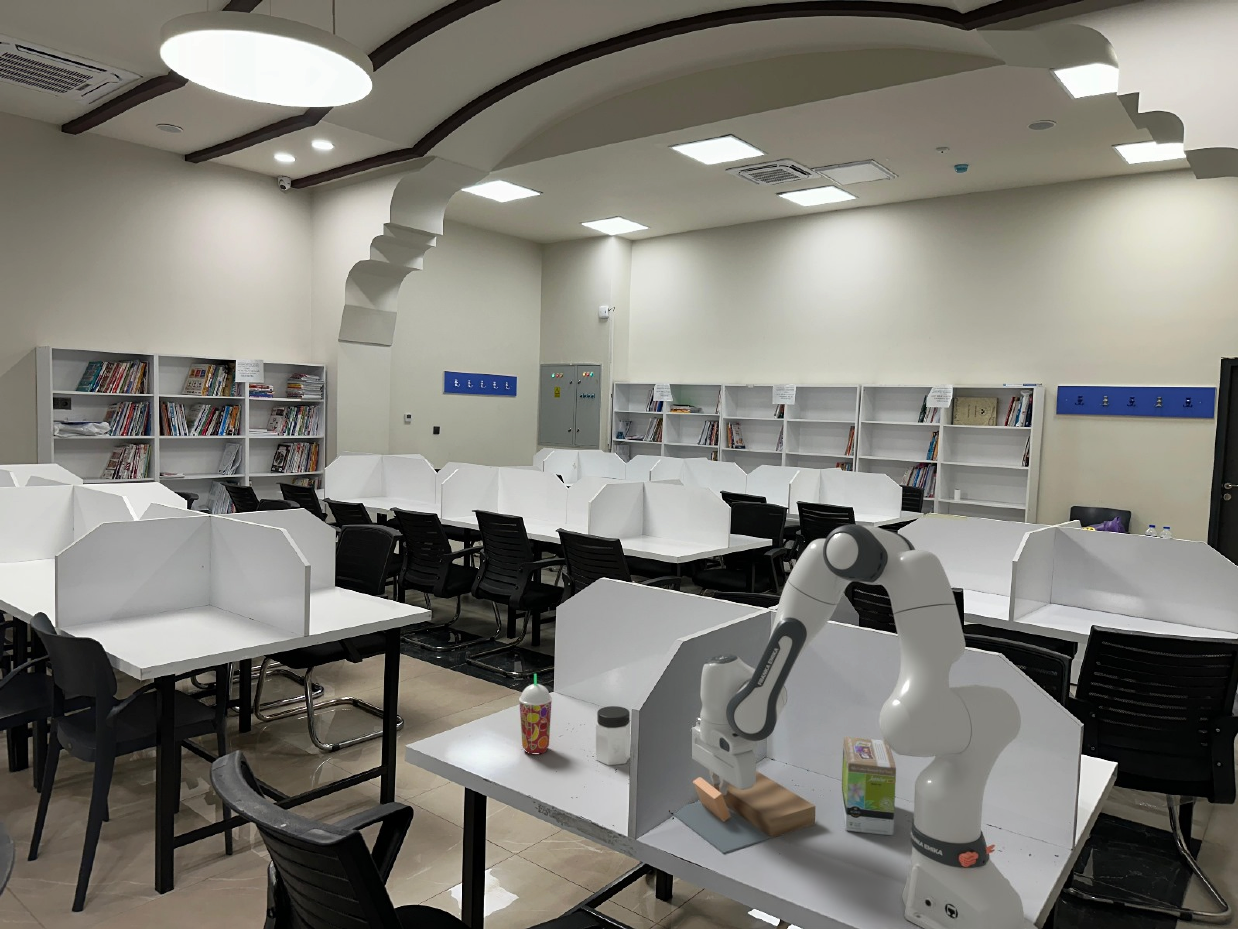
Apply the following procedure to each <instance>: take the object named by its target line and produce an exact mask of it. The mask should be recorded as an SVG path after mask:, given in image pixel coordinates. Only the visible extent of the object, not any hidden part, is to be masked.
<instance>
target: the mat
mask: <svg viewBox="0 0 1238 929" xmlns="http://www.w3.org/2000/svg"><path fill="white" fill-rule="evenodd" d="M685 805H686V806H685ZM685 805H683V806H684V807H683V808H682V809H681V810H679V811H678V812H677V813H674V815H675V816H674V815H673V816H674V817H675V818H677V820H679V821H680V822H682V823H683V824H684V825H685V826H686V827H687V828H690V829H691V830H692V831H694V833H696V834H697V835H699V836H700V837H701V838H702V839H703V840H705V841H706V842H707V843H709V844H710V845H711V846H713V847H714V848H716V850H718V852H720V853H722V854H723V855H724V854H728V853H730V852H734V851H736V850H740V849H743V848H746V847H750V846H752V845H755V844H759V843H761V842H765V841H768V840H770V839H772V838H771V837H770V836H769V835H767V834H766V833H764V832H763V831H761V830H760V829H758V828H757V827H755V826H754V825H753V824H751V823H750V822H748V821H747V820H745V819H744V818H742V817H741V816H739V815H738V814H737V813H735V812H734V811H732V810H731V809H729V808H728V807H727V808H728V811H729V813H730V816H731V817H730V818H728V819H727V820H726V821H724V822H723V821H722V820H721V819H719V818H718V817H717V816H716V815H715V814H713V813H712V812H711V811H710V810H709V809H707V808H706V807H705V806H704V805H703V804H702V803H701V801H700V800H698V801H696V802H693V803H688V804H685Z"/></svg>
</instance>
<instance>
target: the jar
mask: <svg viewBox="0 0 1238 929" xmlns="http://www.w3.org/2000/svg"><path fill="white" fill-rule="evenodd" d="M596 715H597V716H596V717H597V718H596V720H597V722H596V723H595V760H596V761H598V762H600V763H602V764H605V765H606V766H613V765H614V766H615V765H623V764H624V765H625V764H626V763H627V762H628V761H629V760H630V758H631V756H630V721H631V720H630V719H631V718H630V710H629V709H628V708H625V707H623V706H619V705H618V706H617V705H615V706H614V705H612V706H611V705H610V706H605V707H602V708H601V707H600V708H599V709H598V710H597V713H596Z"/></svg>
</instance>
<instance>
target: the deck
mask: <svg viewBox="0 0 1238 929" xmlns="http://www.w3.org/2000/svg"><path fill="white" fill-rule="evenodd" d="M723 798H724V801H725V803H726V806H727V807H728V808H729V809H731V810H732V811H734V812H735V813H737V814H738V815H739V816H741V817H742V818H744V819H745V820H747V821H748V822H750V823H751V824H753V825H754V826H755V827H757V828H758V829H760V830H761V831H763V832H764V833H766V834H767V835H769V836H770V837H771V839H774V838H777V837H780V836H783V835H786V834H790V833H792V832H795V831H799V830H802V829H805V828H808V827H810V826H811V827H812V826H814V825H816V805H815V804H813V803H812V802H809V801H808V800H806V799H804V798H803V797H801V796H800V795H798V794H796V793H794V792H793V791H791V790H790V789H788V788H786V787H784V786H783V785H781V784H779V783H777V782H776V781H775V780H773V779H771V778H769V777H768V776H766V775H764V774H762V773H761V772H759V771H757V770H756V782H755V784H754V786H753V787H752V788H749V789H745V790H739V789H738V788H736V787H735V786H733V785H732V784H730V783H729V785H728V787H727V794H726V795H723Z"/></svg>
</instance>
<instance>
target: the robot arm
mask: <svg viewBox="0 0 1238 929" xmlns="http://www.w3.org/2000/svg"><path fill="white" fill-rule="evenodd" d="M852 582H857V583H863V584H866V585H872V586H875V585H877V586H878V585H879V586H880V585H881V586H883V587H884V589H885V590H886V591H887V594H888V596H889V599H890V604H891V610H892V614H893V619H894V624H895V628H896V634H897V640H898V646H899V650H900V669H899V675H898V680H897V681H896V685H895V687H894V689H893V691H892V692H891V694H890V696H889V697H888V698H887V699H886V701H885V702H884V704H883V705H882V707H881V710H880V713H879V722H878V723H879V730H880V733H881V736H882V738H883V740H884V741H885V742H886V743H887V744H888V746H889V747H890V749H891V751H893V752H894V753H896V754H898V755H899V756H906V757H913V758H914V757H915V758H931V757H934V758H933V760H931V762H930V763H929V764H928V765H926V767H925V768H923V769H922V770H921V771H920V773H919V774H918V775H917V777H916V780H915V782H914V800H913V801H914V806H913V810H914V811H913V817H912V820H911V824H910V843H911V846H912V848H911V858H910V864H909V870H908V874H907V878H906V882H905V885H904V888H903V890H902V892H901V893H902V894H901V898H902V901H903V905H904V907H905V908H904V918H905V919H906V920H907V921H909V922H911V923H913V924H914V925H917V926H918V927H921V928H922V929H1039V928H1038V927H1037V926H1036V925H1035V924H1033V923H1032V922H1031V921H1029V920H1027V918H1025V915H1024V914H1025V913H1024V911H1025V910H1024V906H1023V902H1022V898H1021V896H1020V894H1019V893H1018V892H1017V890H1016V889H1015V888H1014V887H1013V886H1012V885H1011V882H1010V880H1009V879H1008V878H1006V877H1005V876H1004V874H1002V872H1001V871H1000V870H999V868H998V867H997V866H996V865H995V863H994V862H993V861H992V859H991V858H990V857H991V856H990V854H991V853H993V852H995V849H994V848H995V846H996V845H995V844H991V845H989V846H987V842H986V838H985V836H984V832H983V831H982V817H983V816H982V814H983V803H984V795H985V788H986V786H987V781H988V779H989V777H990V774H991V772H992V770H993V768H994V765H995V763H996V762H997V760H998V758H999V757H1000V755H1001V753H1002V752H1003V751H1004V749H1005V748H1006V747H1008V746H1009V744H1011V743H1012V742H1013V741H1014V740H1015V739H1016V738H1017V737H1018V735H1019V733H1020V730H1021V727H1022V726H1021V725H1022V717H1021V712H1020V709H1019V707H1018V704H1017V702H1016V700H1015V699H1014V697H1012V695H1011V694H1010V693H1009V692H1007V690H1004V689H1003V688H1000V687H996V686H989V685H981V684H980V685H979V684H972V685H964V686H963V685H962V686H955V687H953V686H952V687H950V681H949V680H950V671H951V669H952V666H953V664H955V663H956V662H957V661H958V660H960V659H961V657H962V656H963V655H964V652H965V650H966V640H965V636H964V635H965V634H964V632H963V629H962V628H963V627H962V623H961V619H960V615H959V611H958V607H957V604H956V599H955V595H954V592H953V589H952V587H951V586H952V585H951V583H950V582H949V577H948V576H947V573H946V571H945V568H944V567H943V564H942V562H941V560H940V558H938V556H937V555H935V554H934V553H932V552H930V551H927V550H923V549H916V548H915V547H914V545H913V543H912V542H911V541H910V540H909V539H908V538H906V537H905V536H904V535H902V534H900V533H898V532H896V531H895V532H894V531H889V530H886V529H883V528H880V527H878V526H872V525H860V524H854V523H853V524H844V525H842V526H838V527H836V528H835V529H833V530H832V531H831V532H830V533H829V534H828V535H827V536H826V538H817V539H814V540H812V541H811V542H810V543H809V544H808V545H807V547H806V548H805V549H804V550H803V551H802V553H801V554H800V556H799V558H798V560H797V561H796V562H795V564H794V566H793V568H792V570H791V572H790V574H789V576H788V579H787V580H786V583H785V584H784V586H783V589H782V593H781V596H780V598H779V601H778V602H779V603H778V605H777V609H776V613H775V617H774V621H773V624H772V629H771V632H770V636H769V638H768V639H769V640H768V642H767V645H766V646H765V649H764V651H763V653H762V655H761V657H760V659H759V661H758V663H757V665H756V668H753V667H751V666H750V665H748V664H747V663H745V662H744V661H743V660H742V659H741V658H740V657H739V656H737V655H734V654H717V655H716V656H713V657H711V658H709V659H708V660H706V662H705V663H704V664H703V667H702V672H701V676H700V678H701V679H700V700H701V704H702V706H701V710H700V715H699V716H700V717H699V716H698V717H696V718H695V719H696V721H697V722H696V726H695V727H693V726H692V727H691V729H692V758H691V759H693V760H694V761H696V762H697V763H698V764H700V765H702V766H703V767H705V768H706V769H708V770H709V771H708V772H709V776H710V779H711V783H712V786H713V787H714V788H715V789H716V790H718V791H719V792H720V793H722V796H723V795H726V794H727V787H728V785H729V783H730V784H732V785H733V786H735V787H736V788H738V789H739V790H745V789H749V788H752V787H753V786H754V784H755V782H756V771H757V759H756V758H757V757H756V754H755V752H754V750H756V749H757V742H758V741H763V740H765V739H768V738H769V737H770V736H771V734H772V733H773V732H774V730H775V727H776V724H777V722H778V720H779V718H780V716H781V715H782V713H783V711H784V709H785V707H786V705H787V701H788V691H787V689H786V686H785V684H786V681H787V680H788V678H789V676H790V673H791V672H792V670H793V668H794V665H795V664H796V662H797V661H798V659H799V657H800V656H801V655H802V653H803V652H804V651H805V649H806V648H807V647H808V646H809V645H810V644H811V643H812V641H813V640H814V639H815V638H816V637H817V636H818V634H819V633H820V632H821V631H822V630H823V629H824V628H825V626H826V625H827V623H828V622H829V620H830V619H831V618H832V616H833V615H834V612H835V610H836V609H837V606H838V604H839V603H840V600H841V599H842V596H843V594H844V592H845V590H846V588H847V587H848V585H850V583H852Z"/></svg>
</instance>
